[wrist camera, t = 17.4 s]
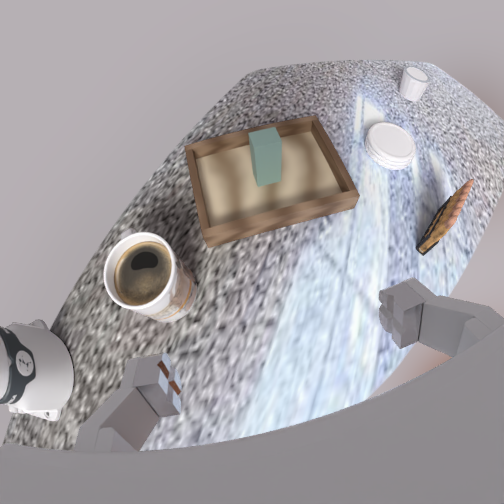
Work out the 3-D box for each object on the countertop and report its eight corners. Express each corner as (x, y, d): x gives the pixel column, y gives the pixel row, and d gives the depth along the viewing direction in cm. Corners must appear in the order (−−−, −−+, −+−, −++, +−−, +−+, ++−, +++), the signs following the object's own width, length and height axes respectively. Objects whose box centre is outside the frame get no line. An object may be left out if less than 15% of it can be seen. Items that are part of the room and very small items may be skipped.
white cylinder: (426, 102, 56) (435, 82, 50) (407, 104, 56) (416, 82, 49) (410, 85, 59) (418, 65, 52) (391, 86, 58) (398, 65, 52)
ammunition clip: (439, 208, 46) (470, 172, 35) (446, 215, 45) (478, 179, 34) (415, 249, 44) (449, 216, 32) (423, 256, 43) (459, 224, 32)
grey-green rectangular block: (257, 187, 48) (253, 147, 39) (252, 173, 49) (248, 133, 40) (281, 181, 48) (281, 141, 39) (275, 167, 49) (275, 126, 40)
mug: (129, 317, 43) (91, 302, 32) (143, 245, 47) (113, 214, 37) (193, 326, 42) (167, 314, 31) (203, 249, 46) (184, 216, 36)
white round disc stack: (367, 126, 53) (371, 114, 50) (411, 142, 52) (417, 132, 48) (360, 160, 50) (364, 148, 47) (408, 178, 49) (415, 167, 45)
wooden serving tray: (208, 247, 46) (202, 237, 42) (189, 159, 53) (184, 146, 49) (354, 208, 47) (359, 195, 43) (313, 129, 53) (315, 115, 50)
